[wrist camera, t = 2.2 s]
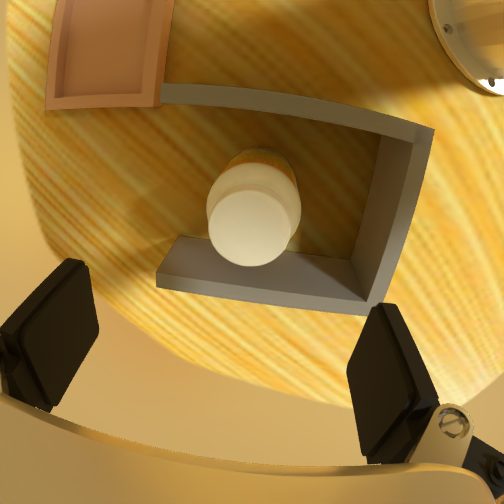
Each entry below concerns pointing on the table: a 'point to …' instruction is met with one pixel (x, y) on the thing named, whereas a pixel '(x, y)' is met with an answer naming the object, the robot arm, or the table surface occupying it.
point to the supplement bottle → (253, 207)
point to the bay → (300, 264)
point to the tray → (108, 53)
